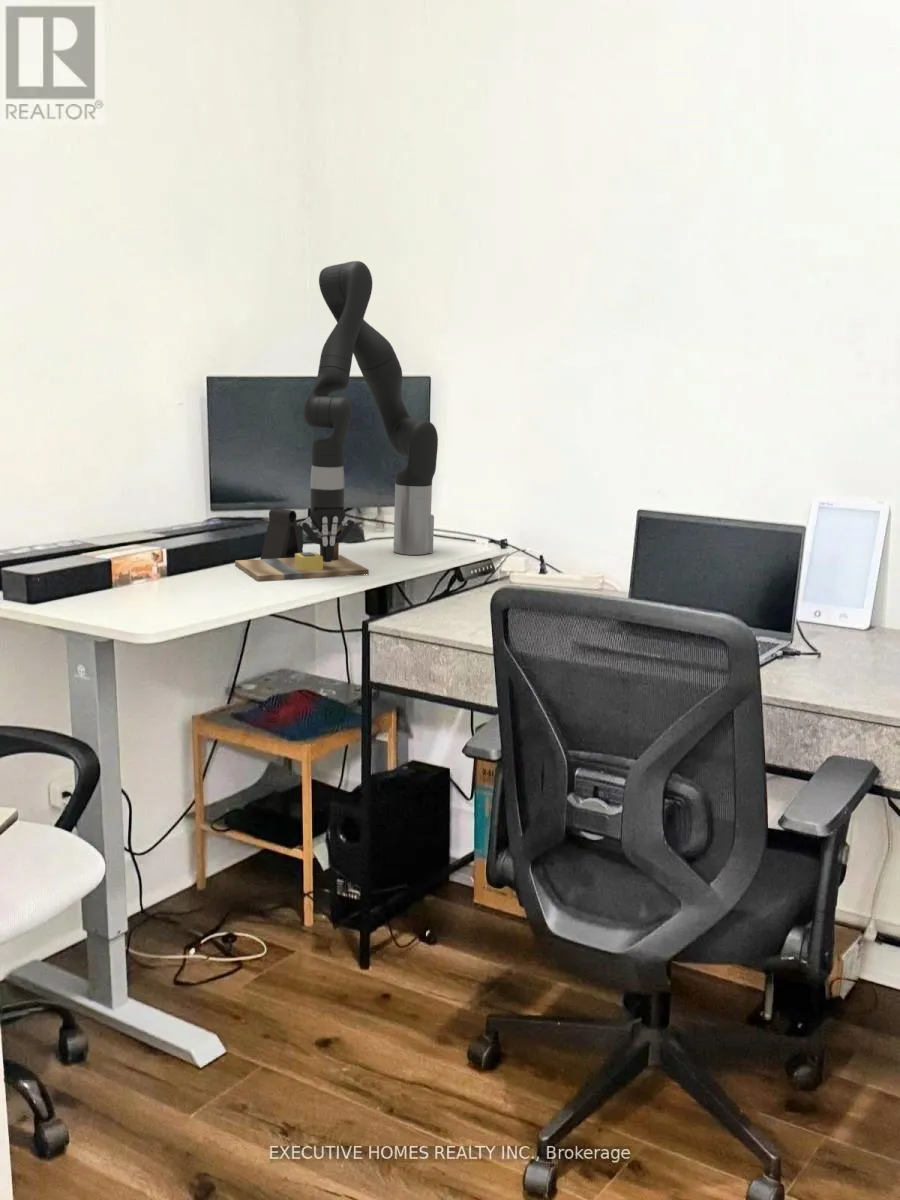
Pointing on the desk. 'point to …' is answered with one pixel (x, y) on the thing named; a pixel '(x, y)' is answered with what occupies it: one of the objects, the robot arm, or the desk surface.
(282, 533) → the phone stand
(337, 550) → the brown wooden bottle
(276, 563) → the panel
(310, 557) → the block
